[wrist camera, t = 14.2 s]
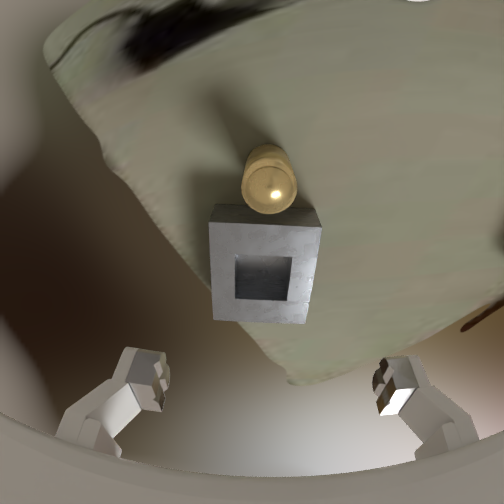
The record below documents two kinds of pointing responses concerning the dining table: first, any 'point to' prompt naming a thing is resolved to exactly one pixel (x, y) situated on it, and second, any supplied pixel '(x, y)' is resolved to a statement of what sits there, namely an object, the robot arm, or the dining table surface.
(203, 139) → the dining table surface
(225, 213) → the housing
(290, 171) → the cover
